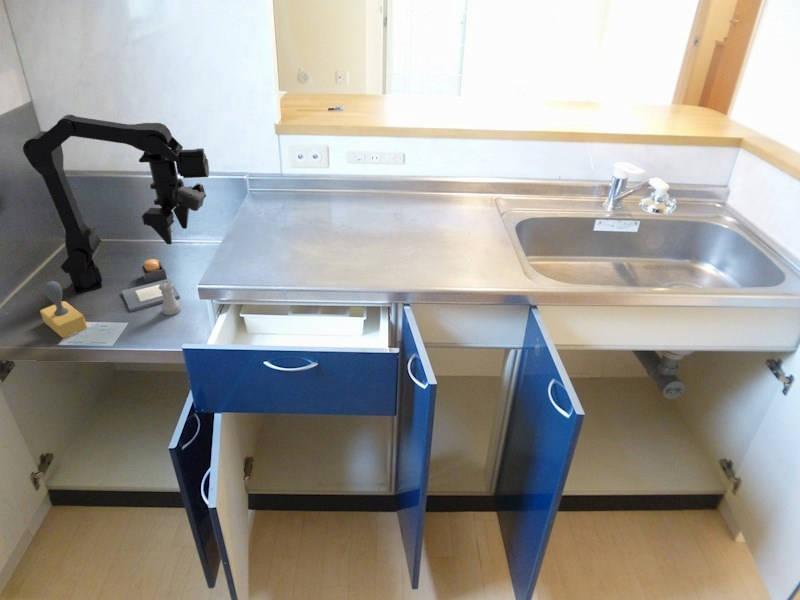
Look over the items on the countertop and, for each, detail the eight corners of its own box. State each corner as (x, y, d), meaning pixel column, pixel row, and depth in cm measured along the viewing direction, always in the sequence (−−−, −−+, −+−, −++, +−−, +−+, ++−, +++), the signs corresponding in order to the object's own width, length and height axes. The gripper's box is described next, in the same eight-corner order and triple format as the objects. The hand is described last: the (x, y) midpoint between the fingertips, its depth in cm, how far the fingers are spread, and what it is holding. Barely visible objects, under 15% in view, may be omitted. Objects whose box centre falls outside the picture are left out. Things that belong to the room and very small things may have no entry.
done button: (147, 274, 149) (145, 266, 148) (144, 269, 152) (142, 261, 150) (161, 271, 151) (159, 263, 150) (158, 265, 153) (156, 257, 152)
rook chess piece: (163, 317, 137) (156, 289, 132) (161, 308, 140) (154, 281, 136) (182, 313, 138) (176, 285, 134) (179, 304, 142) (173, 276, 137)
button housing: (146, 284, 150) (144, 274, 148) (142, 275, 153) (139, 266, 152) (167, 279, 152) (164, 269, 150) (162, 271, 156) (159, 261, 154)
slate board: (130, 311, 139) (129, 308, 138) (122, 293, 146) (121, 290, 145) (180, 298, 144) (179, 295, 144) (169, 281, 151) (169, 278, 151)
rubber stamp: (88, 328, 133) (73, 284, 126) (62, 339, 129) (46, 294, 122) (68, 312, 138) (53, 270, 132) (44, 322, 134) (27, 279, 128)
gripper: (181, 194, 128) (193, 255, 137) (211, 167, 144) (220, 222, 153) (134, 191, 129) (148, 252, 138) (169, 164, 145) (181, 220, 153)
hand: (177, 236), depth 145 cm, fingers open, 9 cm apart
